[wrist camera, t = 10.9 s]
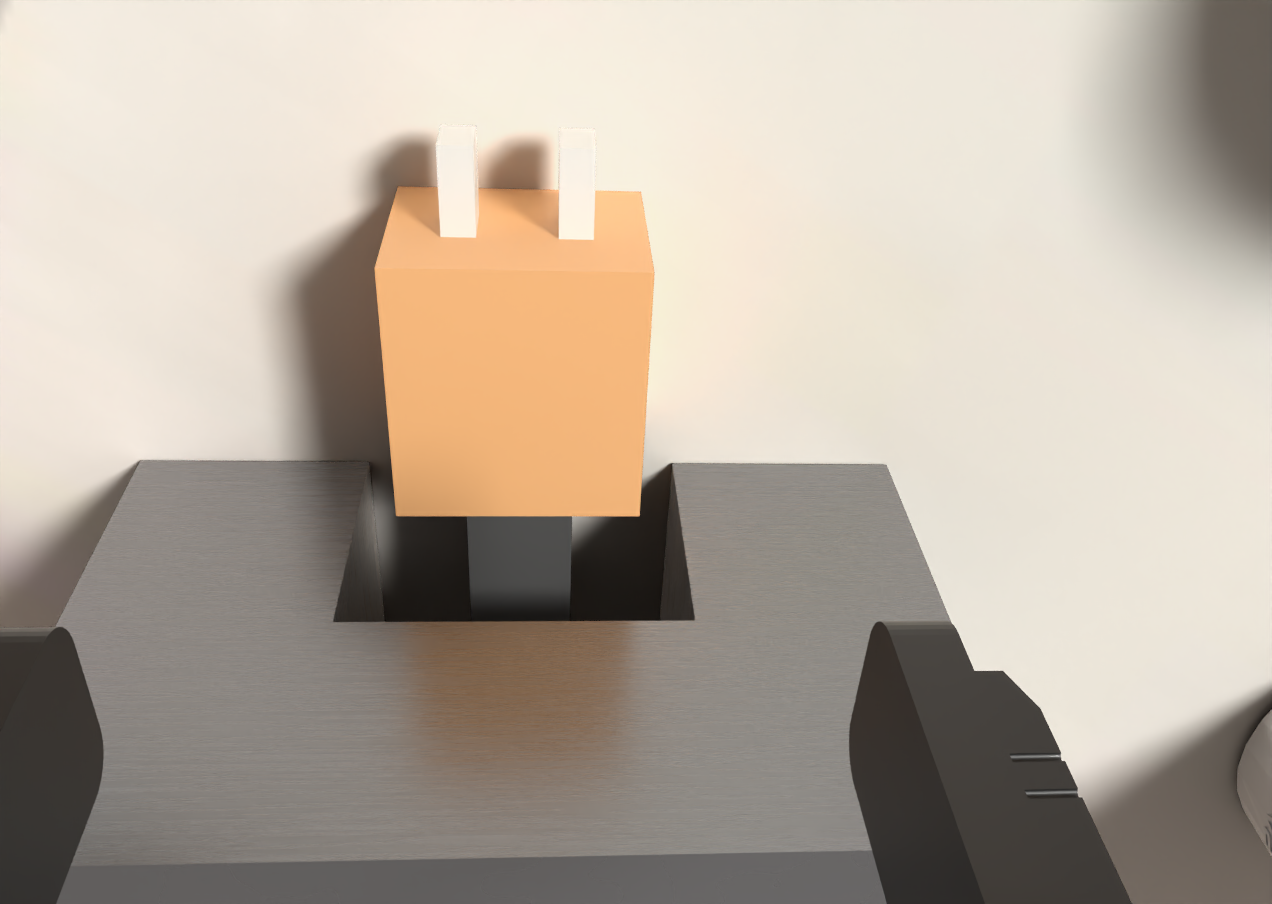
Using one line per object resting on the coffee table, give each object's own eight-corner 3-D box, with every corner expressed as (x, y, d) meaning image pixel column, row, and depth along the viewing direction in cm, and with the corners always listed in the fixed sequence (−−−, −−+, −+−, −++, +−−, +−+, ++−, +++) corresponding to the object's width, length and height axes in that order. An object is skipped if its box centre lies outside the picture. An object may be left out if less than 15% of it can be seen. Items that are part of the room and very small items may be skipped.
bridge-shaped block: (886, 464, 26) (1043, 846, 17) (834, 717, 30) (939, 1115, 22) (140, 460, 24) (-70, 868, 16) (201, 724, 29) (62, 1149, 21)
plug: (645, 106, 21) (660, 178, 18) (603, 923, 35) (607, 1037, 32) (391, 99, 21) (366, 171, 18) (451, 927, 34) (441, 1043, 32)
